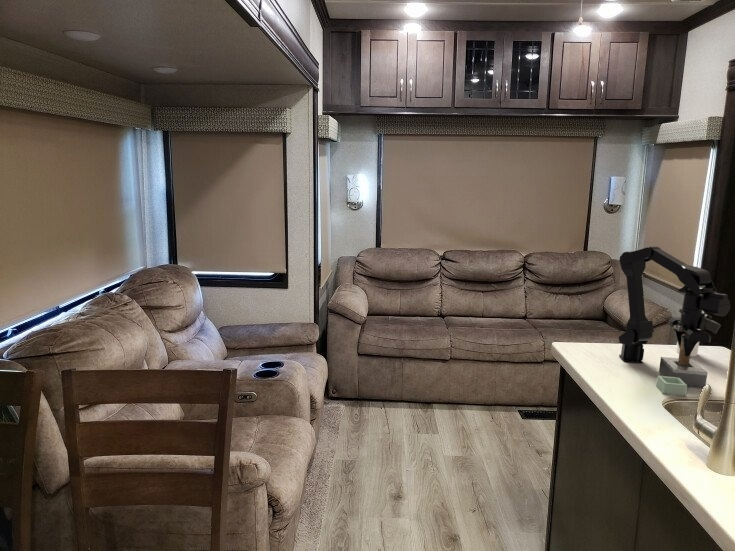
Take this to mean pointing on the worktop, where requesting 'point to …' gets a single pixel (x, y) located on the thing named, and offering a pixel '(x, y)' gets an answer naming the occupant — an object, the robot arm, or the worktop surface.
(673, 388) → the holder cup
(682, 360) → the brown rod
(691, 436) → the worktop surface
